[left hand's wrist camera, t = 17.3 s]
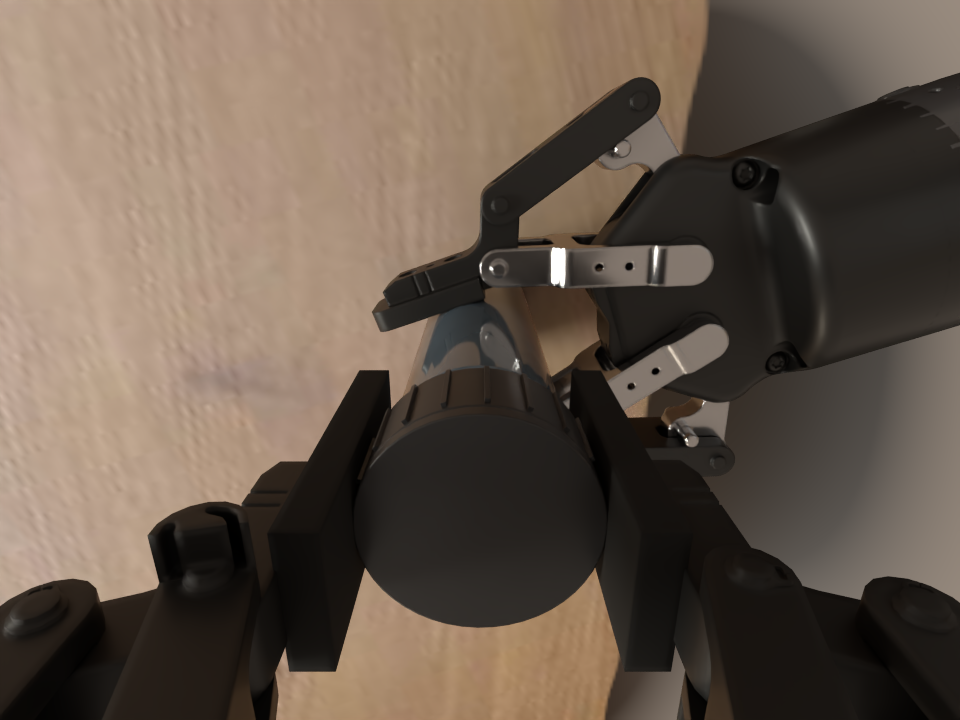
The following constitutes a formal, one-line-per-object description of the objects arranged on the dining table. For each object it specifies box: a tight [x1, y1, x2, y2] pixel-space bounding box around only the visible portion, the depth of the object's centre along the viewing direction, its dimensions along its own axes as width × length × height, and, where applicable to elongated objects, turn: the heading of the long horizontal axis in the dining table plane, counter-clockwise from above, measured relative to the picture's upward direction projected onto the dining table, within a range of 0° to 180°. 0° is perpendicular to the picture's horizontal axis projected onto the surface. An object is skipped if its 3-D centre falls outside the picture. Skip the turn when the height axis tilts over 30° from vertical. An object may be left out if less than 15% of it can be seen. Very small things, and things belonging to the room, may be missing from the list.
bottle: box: [403, 287, 556, 396], centre depth 18 cm, size 4×4×15 cm
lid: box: [352, 366, 608, 628], centre depth 11 cm, size 5×5×2 cm
